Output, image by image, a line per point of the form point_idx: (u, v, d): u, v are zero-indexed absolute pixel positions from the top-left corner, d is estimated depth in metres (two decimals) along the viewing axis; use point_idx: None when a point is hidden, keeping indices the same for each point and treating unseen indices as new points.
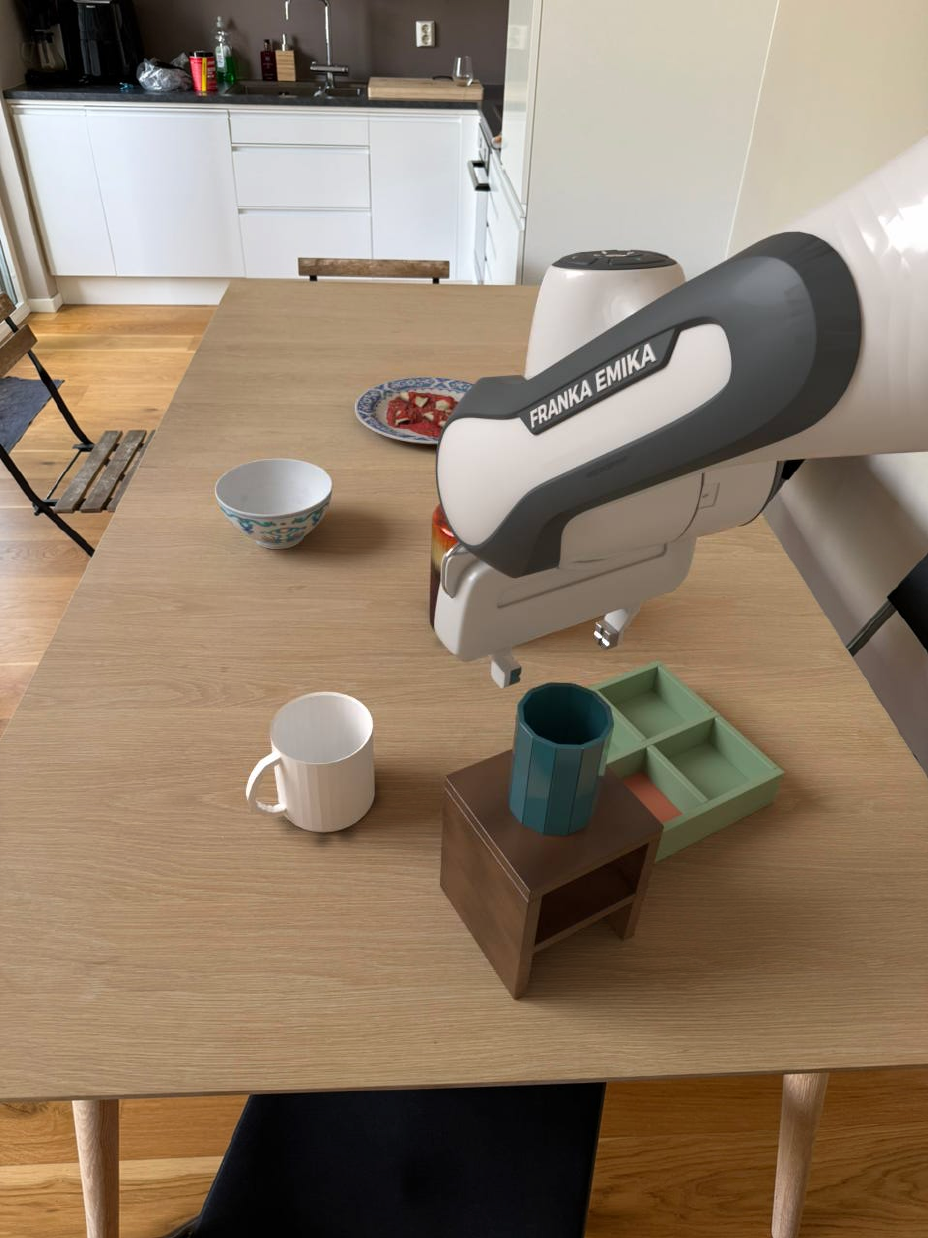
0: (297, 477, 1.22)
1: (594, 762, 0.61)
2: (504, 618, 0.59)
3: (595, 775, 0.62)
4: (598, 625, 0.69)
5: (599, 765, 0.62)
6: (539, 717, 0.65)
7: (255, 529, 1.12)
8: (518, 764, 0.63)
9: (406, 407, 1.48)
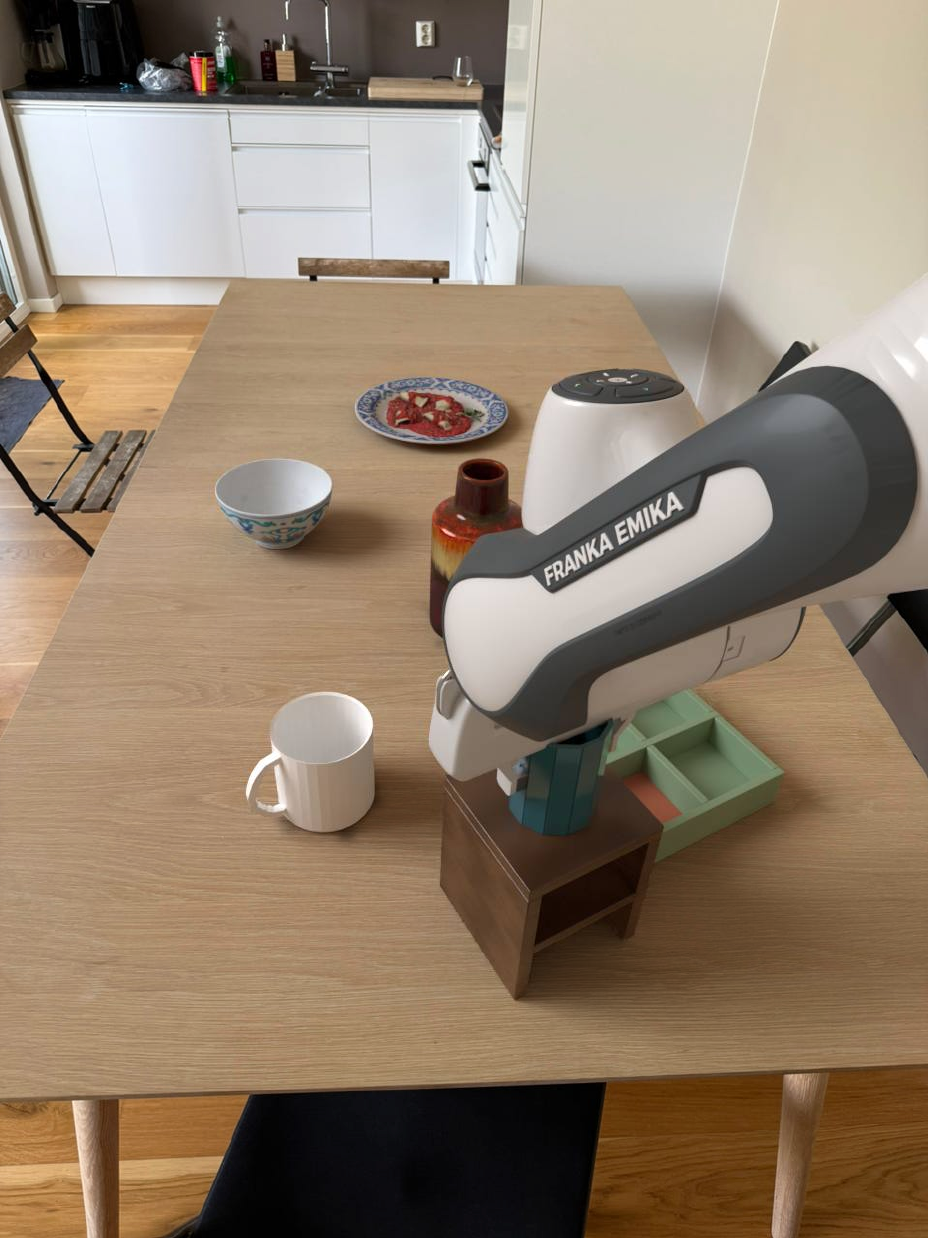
0: (297, 477, 1.22)
1: (594, 762, 0.61)
2: (502, 738, 0.56)
3: (595, 775, 0.62)
4: None
5: (599, 765, 0.62)
6: None
7: (255, 529, 1.12)
8: None
9: (406, 407, 1.48)
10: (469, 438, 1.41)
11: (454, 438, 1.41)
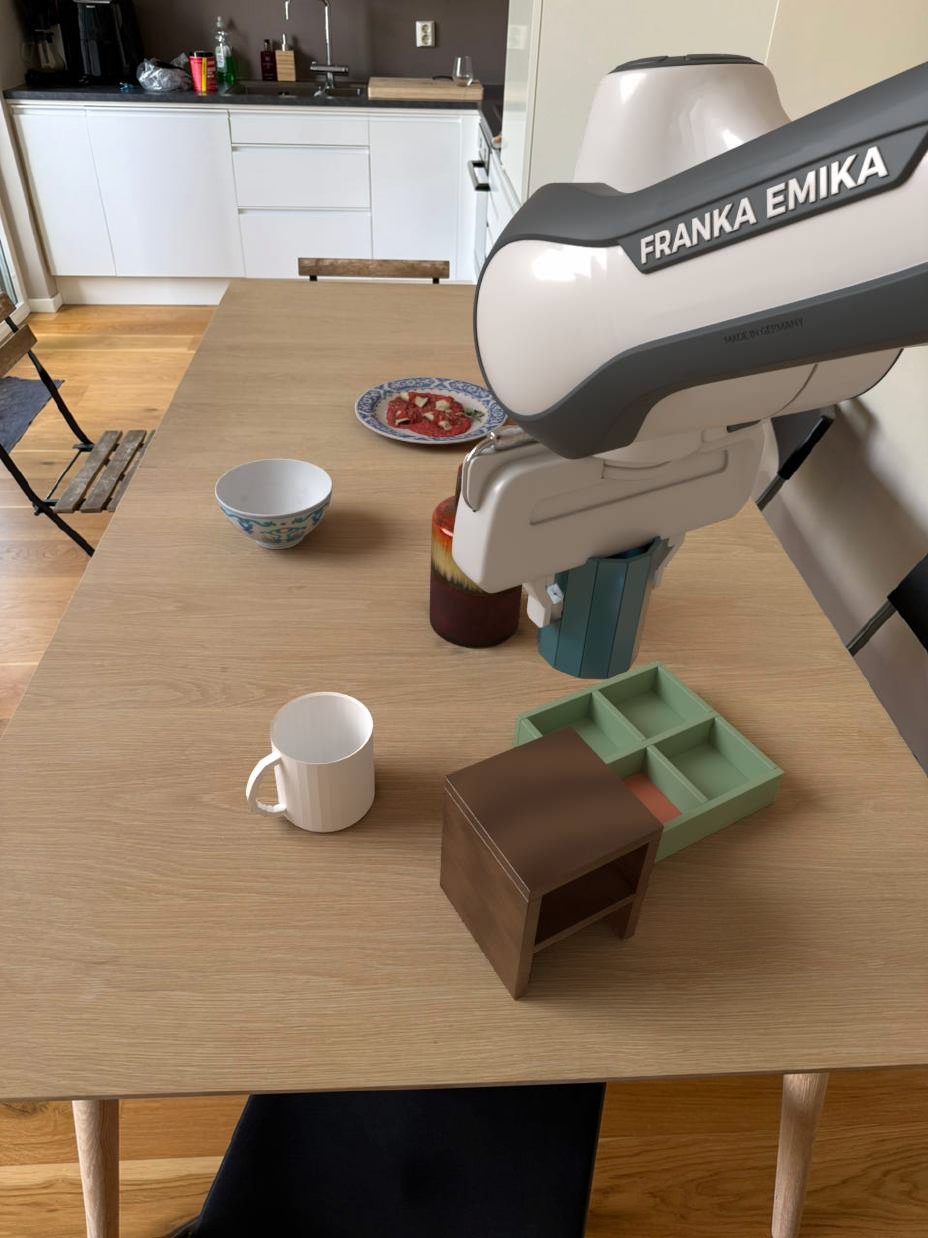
0: (297, 477, 1.22)
1: (639, 584, 0.53)
2: (537, 539, 0.48)
3: (640, 602, 0.54)
4: None
5: (645, 590, 0.54)
6: None
7: (255, 529, 1.12)
8: None
9: (406, 407, 1.48)
10: (469, 438, 1.41)
11: (454, 438, 1.41)
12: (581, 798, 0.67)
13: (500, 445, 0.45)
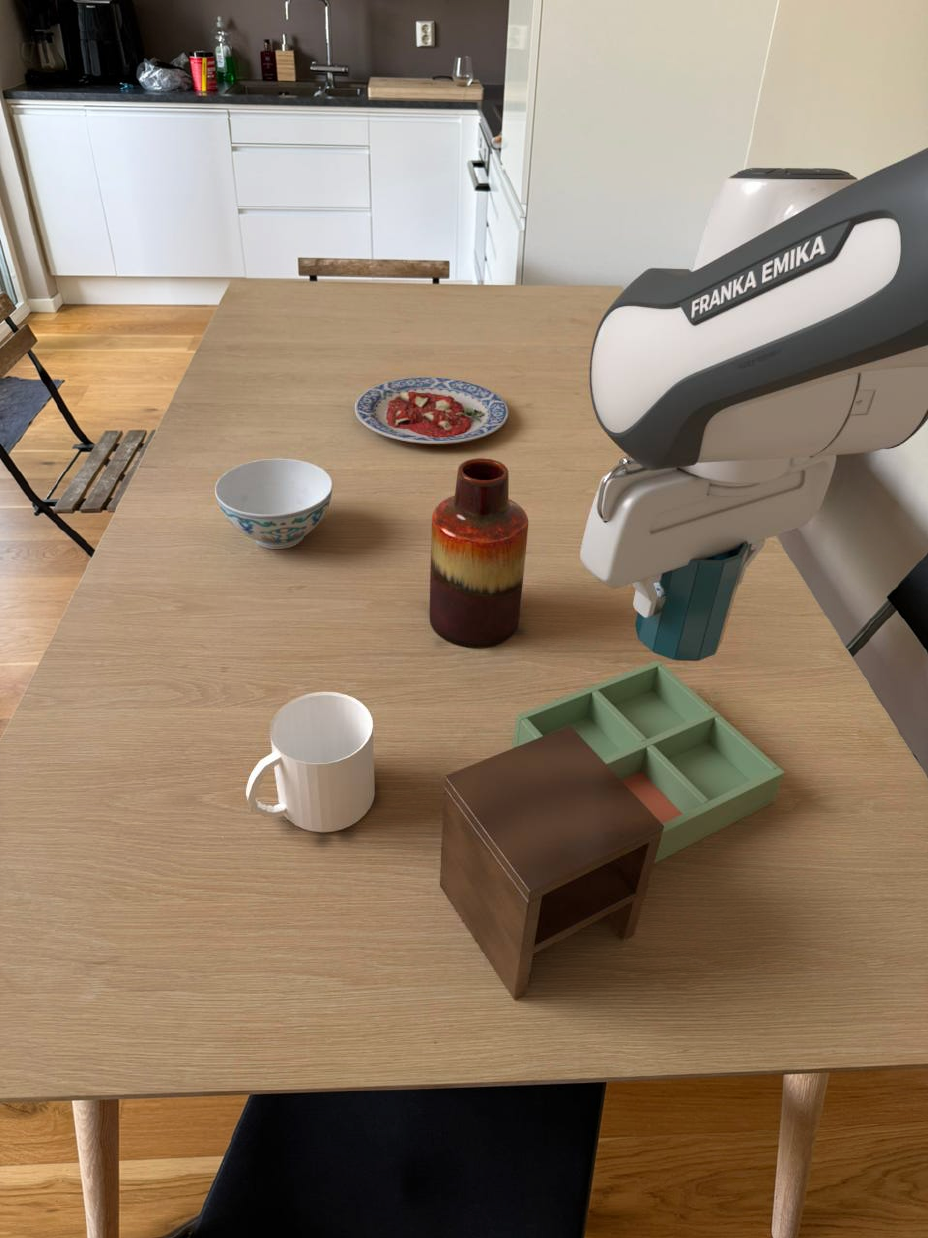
0: (297, 477, 1.22)
1: (731, 581, 0.64)
2: (654, 544, 0.59)
3: (729, 596, 0.65)
4: None
5: (734, 586, 0.64)
6: None
7: (255, 529, 1.12)
8: None
9: (406, 407, 1.48)
10: (469, 438, 1.41)
11: (454, 438, 1.41)
12: (581, 798, 0.67)
13: (631, 469, 0.56)
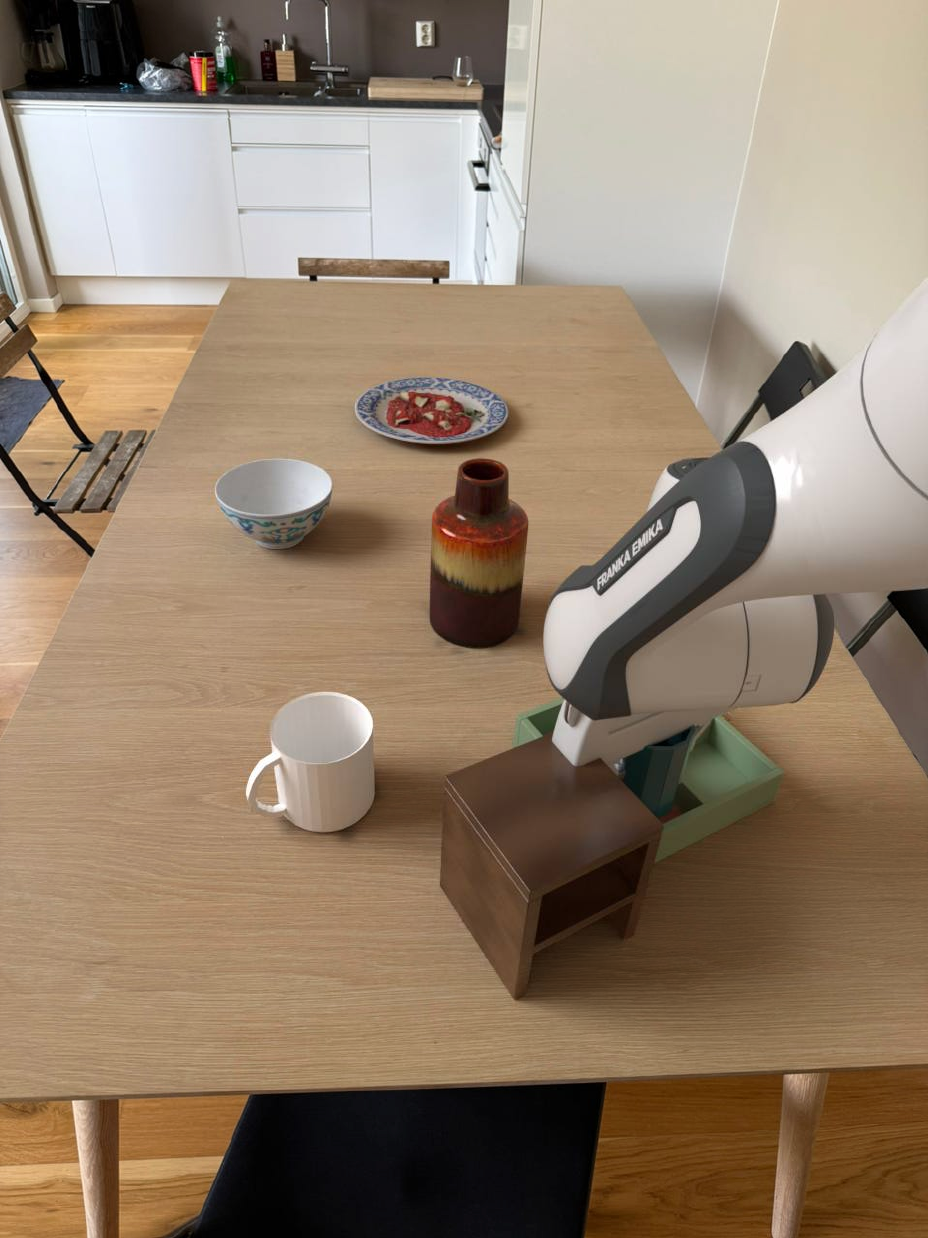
0: (297, 477, 1.22)
1: (680, 760, 0.75)
2: (612, 741, 0.71)
3: (679, 771, 0.76)
4: None
5: (683, 763, 0.76)
6: None
7: (255, 529, 1.12)
8: None
9: (406, 407, 1.48)
10: (469, 438, 1.41)
11: (454, 438, 1.41)
12: (581, 798, 0.67)
13: None
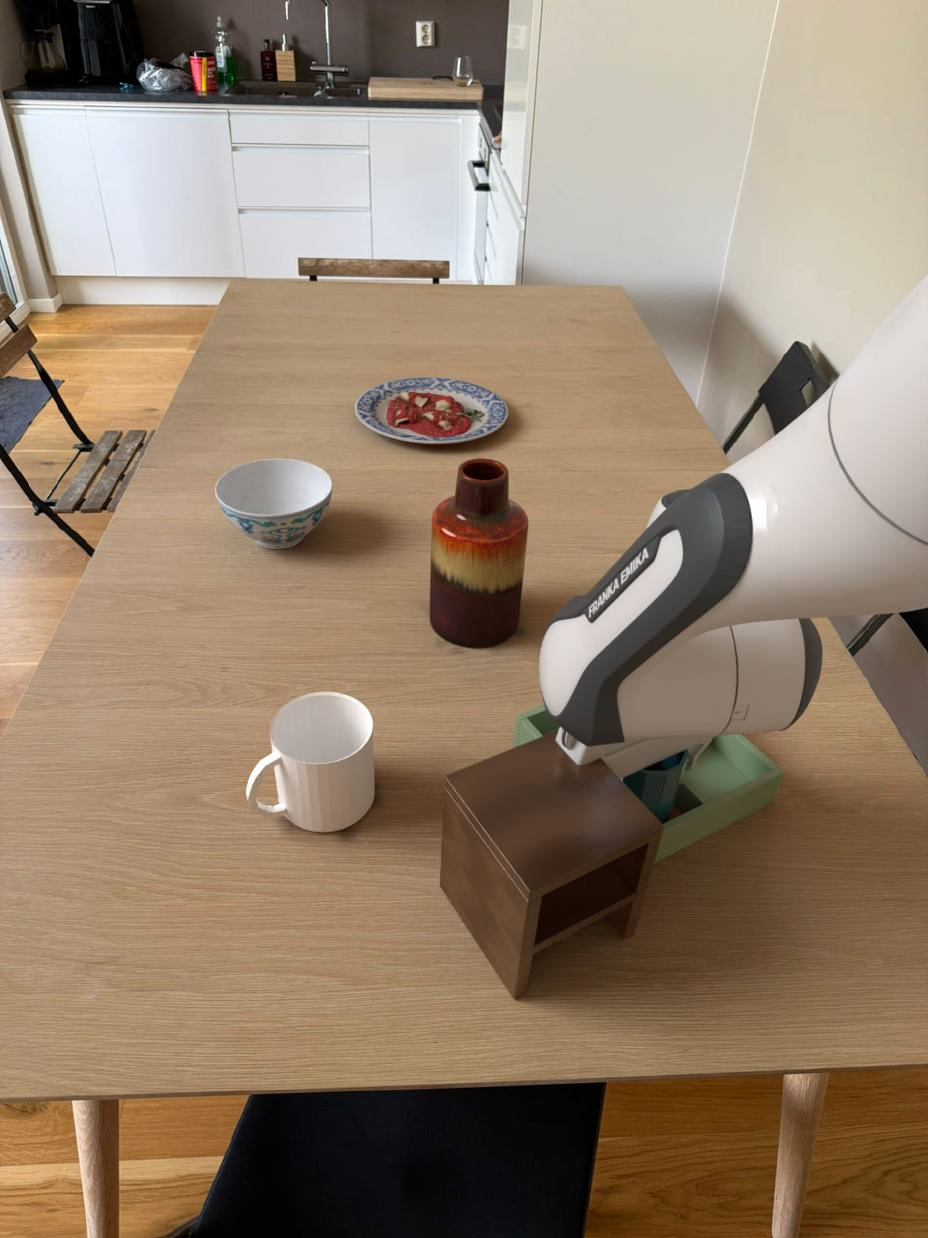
0: (297, 477, 1.22)
1: (673, 784, 0.77)
2: (609, 763, 0.72)
3: (673, 794, 0.78)
4: None
5: (677, 786, 0.78)
6: None
7: (255, 529, 1.12)
8: None
9: (406, 407, 1.48)
10: (469, 438, 1.41)
11: (454, 438, 1.41)
12: (581, 798, 0.67)
13: None
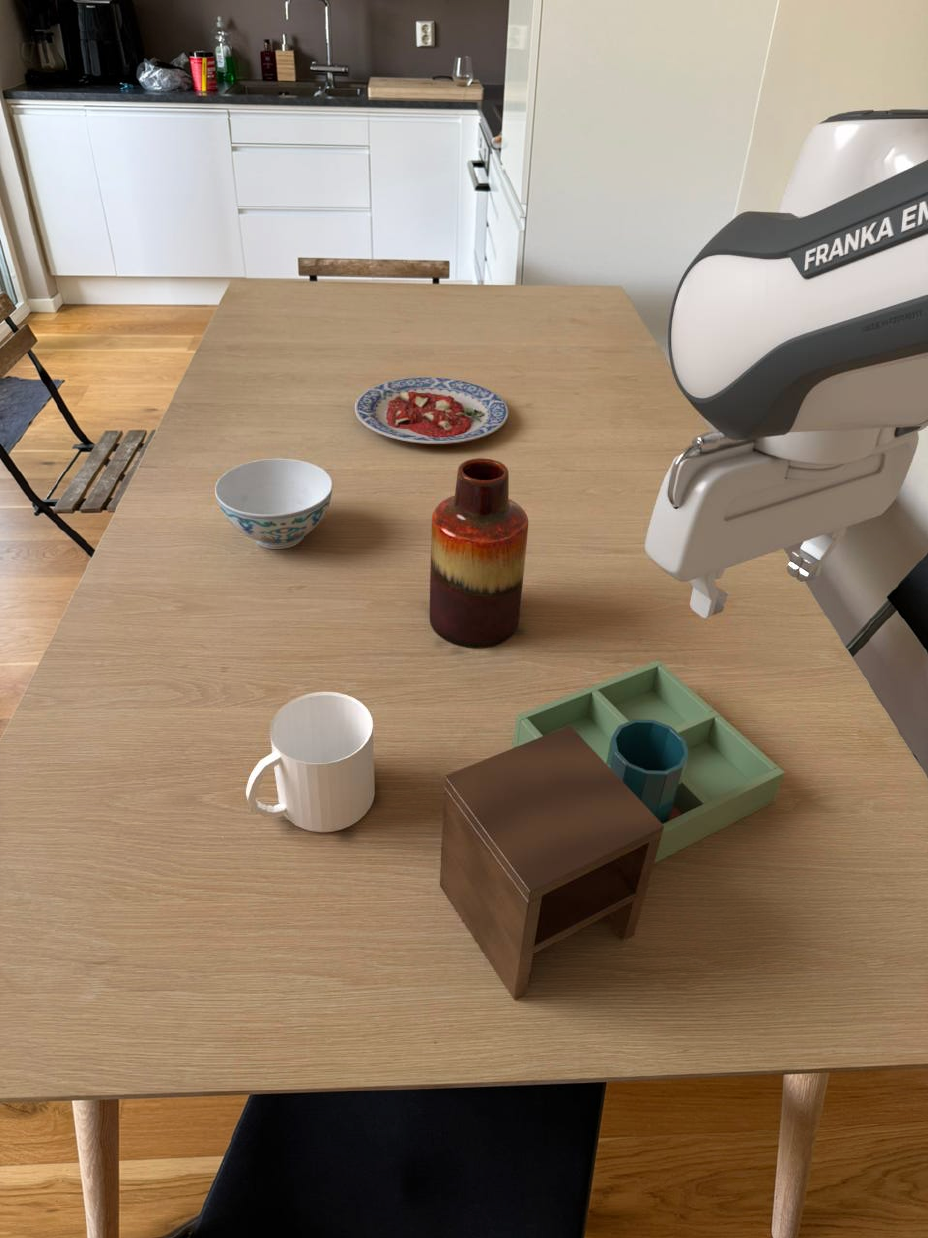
0: (297, 477, 1.22)
1: (673, 784, 0.77)
2: (728, 533, 0.54)
3: (673, 794, 0.78)
4: (795, 554, 0.64)
5: (677, 786, 0.78)
6: (625, 746, 0.82)
7: (255, 529, 1.12)
8: None
9: (406, 407, 1.48)
10: (469, 438, 1.41)
11: (454, 438, 1.41)
12: (581, 798, 0.67)
13: (706, 449, 0.51)
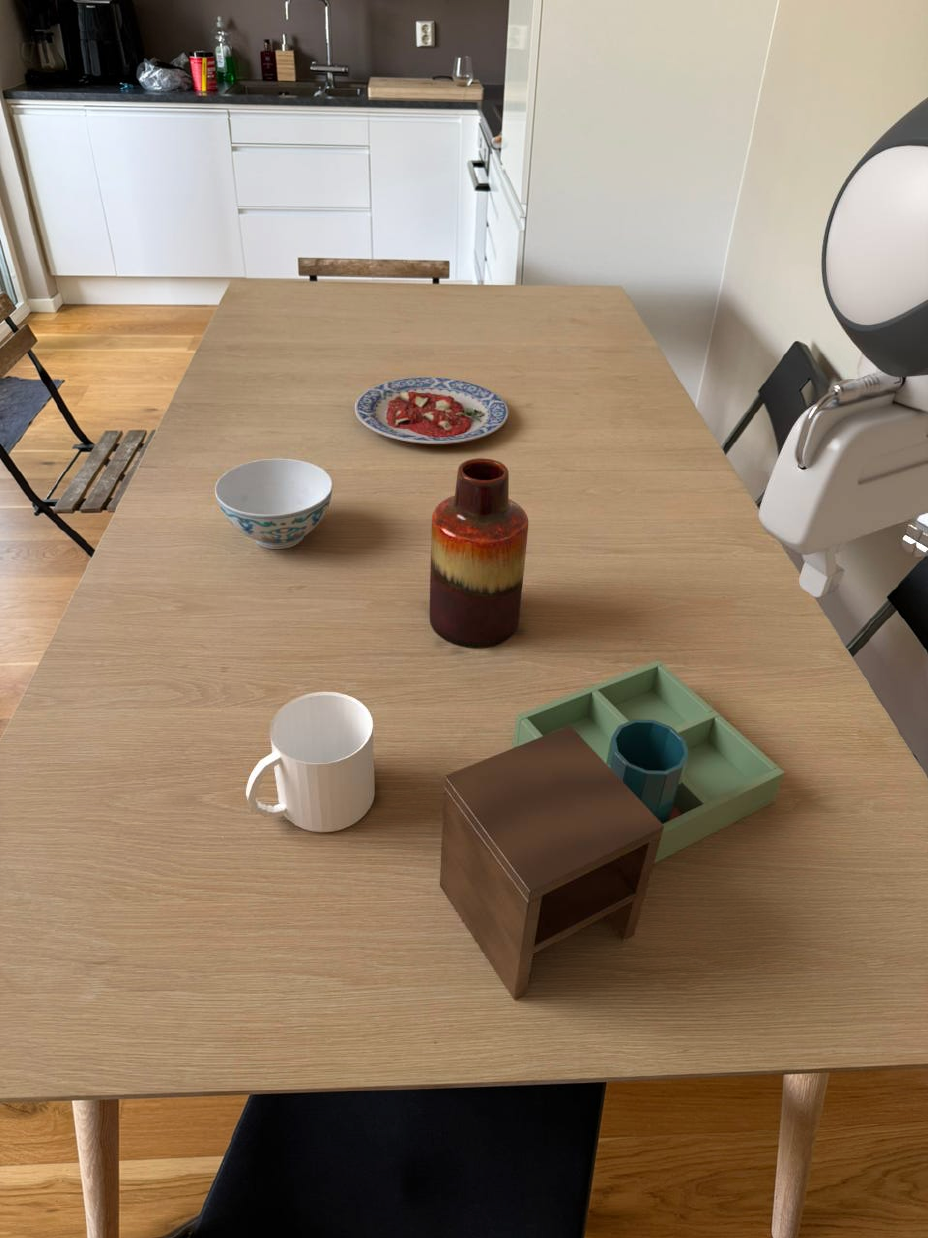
0: (297, 477, 1.22)
1: (673, 784, 0.77)
2: (859, 498, 0.47)
3: (673, 794, 0.78)
4: (912, 527, 0.57)
5: (677, 786, 0.78)
6: (625, 746, 0.82)
7: (255, 529, 1.12)
8: None
9: (406, 407, 1.48)
10: (469, 438, 1.41)
11: (454, 438, 1.41)
12: (581, 798, 0.67)
13: (846, 399, 0.44)
